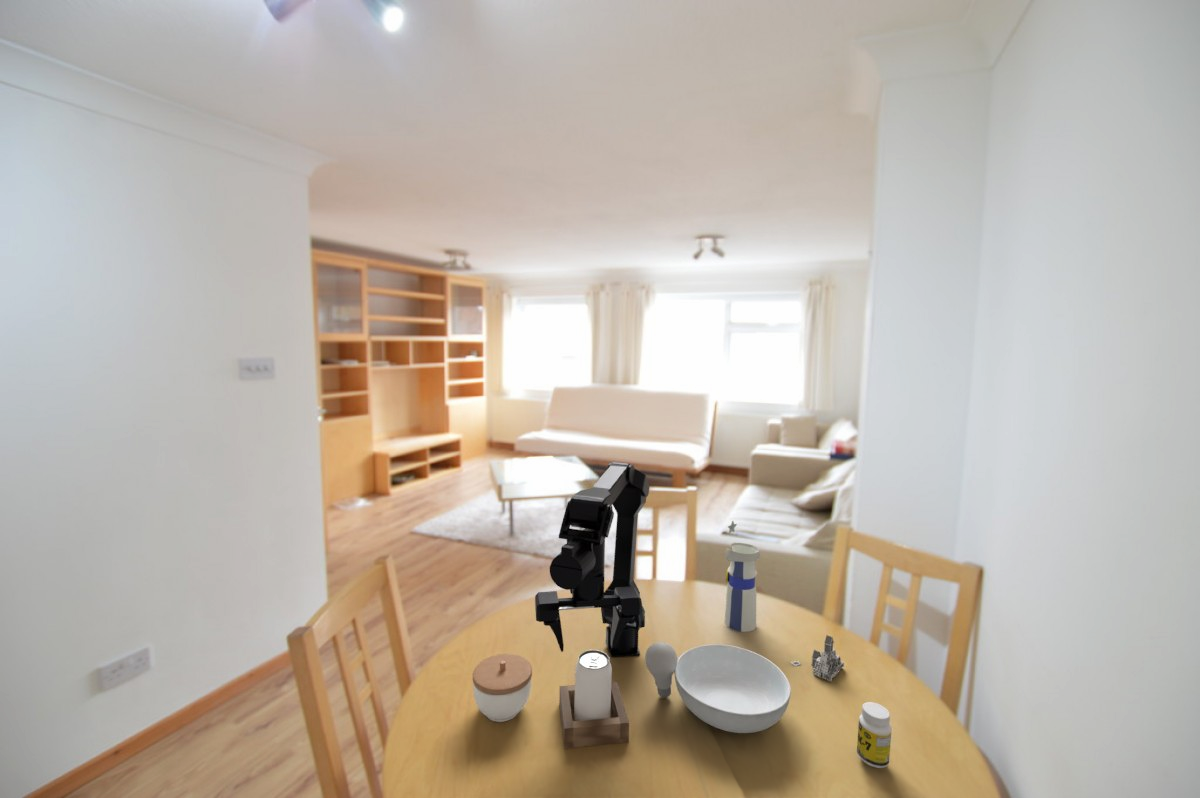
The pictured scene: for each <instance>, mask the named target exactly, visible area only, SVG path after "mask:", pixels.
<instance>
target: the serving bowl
mask: <svg viewBox="0 0 1200 798" xmlns="http://www.w3.org/2000/svg"><path fill="white" fill-rule="evenodd" d="M673 674H674V681H675V686H676V689H677V692H678V695H679V696H680V698H681V700H682V702H683V703H684V705H685V706H686V707H687V708H688V709H689V711H691V713H693V715H695V716H696V717H697V718H698V719H700V720H701V721H702V722H704V723H706V724H708V725H709V726H710V727H711V726H712V727H714V728H716V729H720V730H722V731H724V732H725V731H726V732H728V733H729V732H730V733H735V734H737V733H738V734H751V733H758V732H761V731H765V730H767V729H768V728H771V727H772V726H774V725H775V724H776V723H777V722H780V720H781V718H782V717H783V716H784V714H785V713H786V711H787V709H788V707H789V704H790V703H789V702H790V699H791V695H792V688H791V684H790V682H789V680H788V678H787V675H785V673H784V672H783V671H782V670H781V668H779V667H778V665H776V664H775V663H774V662H772V661H771V660H769V659H768V658H766V657H765V656H763V655H761V654H759V653H756V652H754V651H752V650H748V649H746V648H743V647H739V646H735V645H730V644H718V643H717V644H713V643H712V644H703V645H698V646H695V647H692V648H689V649H687V650H686V651H684V652H683V653H681V654H680V656H679V657H677V666H676V669H675V671H674V673H673Z"/></svg>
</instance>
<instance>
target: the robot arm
mask: <svg viewBox="0 0 1200 798" xmlns="http://www.w3.org/2000/svg"><path fill="white" fill-rule="evenodd" d="M649 492H650V481H649V478H648V477H647V475H646V474H645V473H643V472H641V471H639V470H638V469H636V467H635V466H634V464H631V463H629V462H618V461H612V462H609V463H608V465H607V469H606V471H605V472H604V473H603V474H602V475H601V476H600V477H599V479H598V480H597V481H596V482H595V483H594V484H593V486H592V487H590V488H587V489H581V490H579V491H578V492H576V493H574V494H573V495H572V497H571V498H570V499H569V500H568V502H567V503H566V507H565V511H564V514H563V517H562V518H563V519H562V522H561V526H560V530H559V534H558V539H560V540H561V539H563V540H566V543H565V544H563V545H562V546H561V548H560V552H559V553H558V554H557V555H556V556H555V557H554V558H553V559H552V561H551V563H550V566H549V576H550V578H551V579H552V581H553V583H554V585H556V586H557V587H558V588H560V589H563V590H567V591H569V590H570V594H571V597H560V598H559V597H558V591H557V590H552V591H551V590H550V591H538V592H537V593H536V594H535V596H534V601H535V602H534V608H535V621H536V622H539V623H542V622H543V625H544V626H545V627H547V626H549V627H550V629H551V630H552V632H553V634H554V636H555V638H556V641H557V644H558V648H559V650H560V652H561V653H563V652H564V636H563V630H562V622H561V617H560V611H569V610H583V609H595V608H596V609H599V608H600V612H601V619H602V624H604V625H605V624H607V625H608V626H606V629H605V645H606V648H607V649H606V650H608V651H609V655H610V657H611V658H618V657H621V658H622V657H634V656H641V652H640V649H639V630H640V629H641V628H644V627H645V626H646V611H645V608H644V606H643V602H642V598H641V592H640V590H639V587H638V586H637V584H636V582H635V580H634V579H635V576H634V575H635V564H636V550H637V549H636V547H637V536H638V535H637V533H638V520H639V519H638V518H639V517H638V516H639V513H640V511H641V510H642V508H643V507H644V506H645V504H646V503H647V497H648V496H649V494H650V493H649ZM613 508H614V509H613ZM613 510H615V512H616V526H615V527H616V528H615V541H614V557H613V571H612V572H613V573H612V580H611V582H610V584H609V586H608V587H607V588H606V589H605V562H606V561H605V554H606V538H609V534H610V531H611V528H612V523H613V520H614V517H615V516H614V515H615V513H614V511H613ZM570 527H572V528H570ZM575 528H576V529H575ZM578 528H579V529H578Z"/></svg>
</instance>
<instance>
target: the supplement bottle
mask: <svg viewBox="0 0 1200 798" xmlns="http://www.w3.org/2000/svg"><path fill="white" fill-rule="evenodd" d="M890 718H891V713H890V711H889V710H888V709H887V708H886V707H885V706H883V705H881V704H879V703H877V702H871V701H868V702H864V703H863V704H862V707H861V714H860V715H859V717H858V727H857V742H856V744H857V745H856V753H857V755H858V757H859V759H860V760H861V761H863V763H865V764H867V765H868V766H870V767H872V768H877V769H884V768H886V767H888V766H889V764H890V756H891V743H892V742H891V741H892V740H891V739H892V726H891V724H890V722H891V721H890Z"/></svg>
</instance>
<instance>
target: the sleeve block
mask: <svg viewBox="0 0 1200 798" xmlns="http://www.w3.org/2000/svg"><path fill="white" fill-rule="evenodd" d="M574 700H575V684H568V685H559V700H558V701H559V703H558V704H559V712H560V713H559V714H560V721H561V722H560V723H561V732H562V740H563V741H562V742H563V749H574V748H582V747H591V746H592V747H593V746H603V745H611V744H612V745H613V744H620V743H621V744H623V743H624V744H625V743H629V736H630V735H629V734H630V722H629V718H628V714H627V710H626V708H625V704H624V701H623V698H622V693H621V690H620V687H619V683H618V681H611V708H610V710H611V712H612V716H613V717H610V718H605V719H594V720H583V721H574V720H573V716H572V709H574Z"/></svg>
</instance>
